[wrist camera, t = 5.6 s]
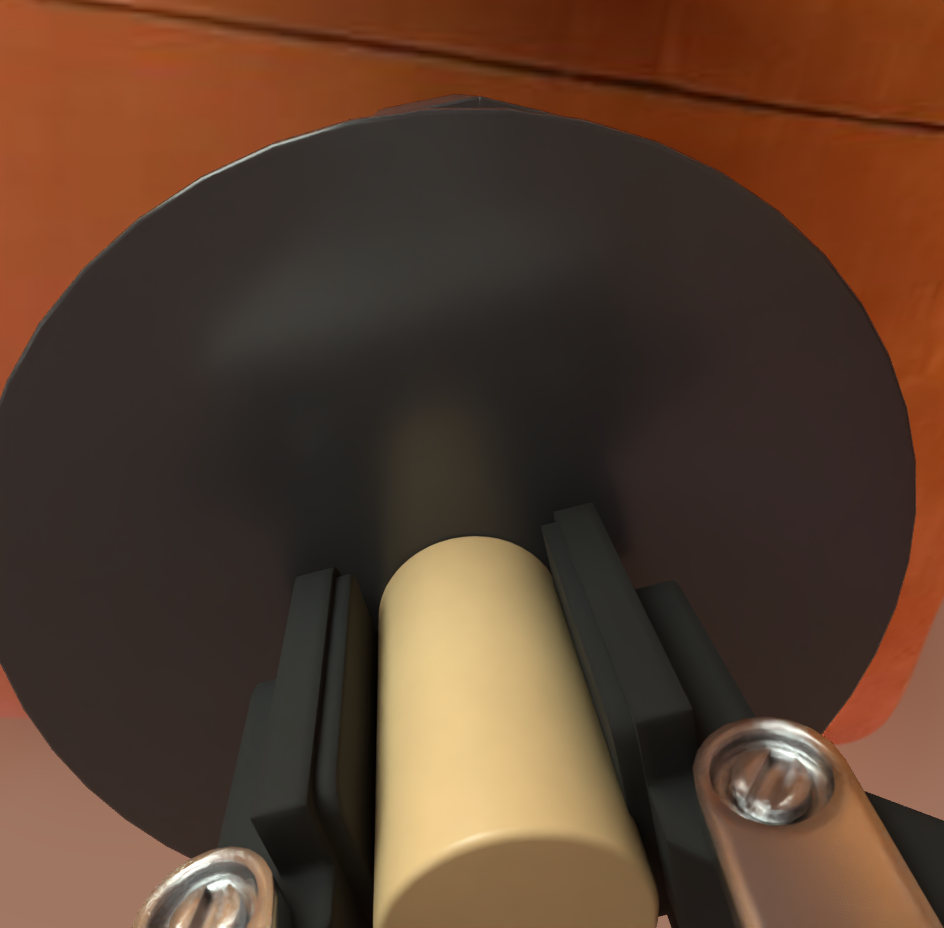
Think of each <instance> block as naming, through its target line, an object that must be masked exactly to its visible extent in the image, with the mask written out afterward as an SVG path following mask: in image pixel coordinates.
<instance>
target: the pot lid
mask: <svg viewBox="0 0 944 928" xmlns="http://www.w3.org/2000/svg"><path fill="white" fill-rule="evenodd" d="M587 503H593V505H594V506H595V508H596V510H597V513H598V515H599V517H600V519H601V521H602V523H603V525H604V527H605V529H606V531H607V533H608V535H609V537H610V539H611V541H612V543H613V546H614V548H615V550H616V552H617V554H618V556H619V558H620V560H621V562H622V564H623V566H624V568H625V570H626V572H627V574H628V576H629V579H630V581H631V583H632V585H633V587H634V589H638V588H642V587H646V586H650V585H654V584H658V583H662V582H666V581H670V580H674V581H676V582H677V583H678V584H679V586H680V587H681V589H682V590H683V592H684V594H685V596H686V597H687V599H688V601H689V603H690V604H691V606H692V608H693V609H694V611H695V613H696V615H697V616H698V618H699V620H700V622H701V623H702V625H703V627H704V628H705V630H706V632H707V634H708V635H709V637H710V639H711V641H712V642H713V644H714V646H715V648H716V649H717V651H718V653H719V654H720V656H721V658H722V660H723V661H724V663H725V665H726V667H727V668H728V670H729V672H730V673H731V675H732V677H733V679H734V680H735V682H736V684H737V686H738V687H739V689H740V691H741V693H742V694H743V696H744V698H745V699H746V701H747V703H748V705H749V706H750V708H751V710H752V712H753V713H754V715H755V717H773V718H779V719H786V720H791V721H794V722H796V723H799V724H801V725H804V726H807V727H809V728H812V729H813V730H815V731H816V732H818V733H819V734H821V735H822V734H823V732H824V731H825V730H826V728H827V727H828V726H829V724H830V723H831V722H832V720H833V719H834V718H835V716H836V715H837V714H838V713H839V711H840V710H841V709H842V707H843V706H844V705H845V703H846V702H847V701H848V699H849V698H850V697H851V695H852V694H853V692H854V690H855V689H856V687H857V685H858V684H859V682H860V680H861V678H862V677H863V675H864V673H865V672H866V670H867V668H868V667H869V665H870V663H871V662H872V660H873V658H874V656H875V655H876V653H877V650H878V648H879V646H880V644H881V641H882V639H883V637H884V634H885V632H886V630H887V628H888V625H889V623H890V621H891V618H892V616H893V614H894V611H895V609H896V606H897V602H898V599H899V595H900V592H901V588H902V585H903V581H904V578H905V574H906V571H907V567H908V564H909V559H910V552H911V545H912V538H913V531H914V523H915V516H916V459H915V453H914V447H913V441H912V435H911V429H910V423H909V417H908V411H907V406H906V403H905V400H904V397H903V394H902V392H901V389H900V386H899V383H898V380H897V377H896V374H895V371H894V368H893V365H892V362H891V359H890V356H889V353H888V351H887V349H886V348H885V346H884V344H883V342H882V340H881V338H880V336H879V334H878V332H877V331H876V329H875V327H874V325H873V323H872V321H871V319H870V317H869V315H868V314H867V312H866V310H865V308H864V306H863V304H862V302H861V301H860V300H859V298H858V297H857V296H856V295H855V293H854V292H853V291H852V289H851V288H850V287H849V285H848V284H847V283H846V281H845V280H844V279H843V277H842V276H841V275H840V273H839V272H838V271H837V270H836V268H835V267H834V266H833V264H832V263H831V262H830V260H829V259H828V258H827V256H826V255H825V254H824V253H823V252H822V251H821V250H820V249H819V248H818V247H817V246H816V245H814V244H813V243H812V242H811V241H810V240H809V239H808V238H807V237H806V236H805V235H804V234H803V233H802V232H801V231H800V230H799V229H798V228H797V227H795V226H794V225H793V224H792V223H791V222H790V221H789V220H788V219H787V218H786V217H785V216H784V215H783V214H782V213H781V212H780V211H779V210H777V209H776V208H774V207H773V206H771V205H770V204H768V203H767V202H765V201H764V200H762V199H761V198H760V197H758V196H757V195H755V194H754V193H752V192H751V191H749V190H748V189H746V188H745V187H743V186H742V185H740V184H739V183H738V182H736V181H735V180H733V179H732V178H730V177H729V176H727V175H726V174H724V173H723V172H721V171H719V170H717V169H715V168H713V167H711V166H708V165H706V164H704V163H702V162H700V161H698V160H696V159H694V158H692V157H689V156H687V155H685V154H683V153H681V152H679V151H677V150H675V149H673V148H670V147H668V146H666V145H664V144H662V143H660V142H658V141H655V140H651V139H648V138H645V137H641V136H638V135H635V134H631V133H628V132H625V131H621V130H618V129H615V128H611V127H608V126H605V125H601V124H598V123H595V122H591V121H588V120H584V119H578V118H572V117H565V116H558V115H551V114H544V113H537V112H530V111H523V110H516V109H509V108H423V109H417V110H410V111H403V112H396V113H389V114H382V115H376V116H369V117H362V118H355V119H350V120H346V121H343V122H340V123H336V124H333V125H330V126H326V127H323V128H319V129H316V130H313V131H309V132H306V133H303V134H299V135H296V136H293V137H289V138H286V139H283V140H279V141H276V142H274V143H272V144H270V145H268V146H266V147H263V148H261V149H259V150H257V151H255V152H253V153H250V154H248V155H246V156H244V157H242V158H240V159H238V160H235V161H233V162H231V163H229V164H227V165H225V166H223V167H220V168H218V169H216V170H214V171H212V172H210V173H208V174H206V175H204V176H202V177H200V178H198V179H197V180H195V181H194V182H192V183H191V184H189V185H188V186H186V187H185V188H183V189H182V190H180V191H179V192H177V193H176V194H174V195H173V196H171V197H170V198H168V199H167V200H165V201H164V202H162V203H161V204H159V205H158V206H156V207H155V208H153V209H152V210H150V211H148V212H147V213H145V214H144V215H142V216H141V217H139V218H138V219H137V220H136V221H134V222H133V223H132V224H131V225H130V226H129V227H128V228H127V229H126V230H125V231H123V232H122V233H121V234H120V235H119V236H118V237H117V238H116V239H115V240H114V241H112V242H111V243H110V244H109V245H108V246H107V247H106V248H105V249H104V250H103V251H101V252H100V253H99V254H98V255H97V256H96V257H95V258H94V259H93V260H92V261H90V262H89V263H88V264H87V265H86V266H85V267H84V268H83V269H82V270H81V271H80V273H79V274H78V275H77V276H76V278H75V279H74V280H73V281H72V283H71V284H70V285H69V286H68V288H67V289H66V290H65V291H64V293H63V294H62V295H61V296H60V298H59V299H58V300H57V301H56V303H55V304H54V305H53V306H52V308H51V309H50V310H49V311H48V313H47V314H46V315H45V316H44V318H43V319H42V320H41V321H40V323H39V324H38V326H37V328H36V330H35V331H34V333H33V335H32V337H31V338H30V340H29V342H28V344H27V346H26V347H25V349H24V351H23V353H22V354H21V356H20V358H19V360H18V362H17V363H16V365H15V367H14V369H13V370H12V372H11V374H10V376H9V378H8V379H7V381H6V384H5V387H4V390H3V393H2V395H1V398H0V664H1V666H2V668H3V670H4V672H5V674H6V676H7V678H8V680H9V682H10V684H11V686H12V688H13V690H14V691H15V693H16V695H17V697H18V699H19V701H20V703H21V705H22V707H23V709H24V711H25V712H26V713H27V715H28V716H29V718H30V719H31V720H32V722H33V723H34V725H35V726H36V727H37V729H38V730H39V732H40V733H41V735H42V736H43V737H44V739H45V740H46V742H47V743H48V744H49V746H50V747H51V749H52V750H53V751H54V752H55V753H56V755H57V756H58V757H59V758H60V759H61V760H62V761H63V762H64V763H65V764H66V765H67V766H68V767H69V769H70V770H71V771H72V772H73V773H74V774H75V775H76V776H77V777H78V778H79V779H80V780H81V781H82V783H83V784H84V785H85V786H86V787H87V788H88V789H90V790H91V791H92V792H93V793H94V794H96V795H97V796H98V797H99V798H100V799H102V800H103V801H104V802H105V803H106V804H108V805H109V806H110V807H111V808H112V809H114V810H115V811H116V812H117V813H118V814H120V815H121V816H122V817H123V818H124V819H126V820H127V821H129V822H130V823H132V824H133V825H135V826H136V827H138V828H140V829H141V830H142V831H144V832H145V833H147V834H148V835H150V836H152V837H153V838H155V839H156V840H158V841H159V842H161V843H162V844H164V845H165V846H167V847H169V848H171V849H173V850H175V851H177V852H179V853H181V854H183V855H185V856H187V857H189V858H194V857H196V856H198V855H201V854H203V853H205V852H208V851H210V850H213V849H217V848H218V843H219V839H220V834H221V830H222V825H223V821H224V816H225V812H226V807H227V803H228V798H229V794H230V789H231V785H232V780H233V776H234V772H235V767H236V763H237V758H238V754H239V749H240V745H241V740H242V736H243V731H244V727H245V722H246V718H247V713H248V709H249V704H250V700H251V696H252V693H253V690H254V688H255V686H257V685H258V684H259V683H262V682H266V681H270V680H274V679H276V678H277V672H278V667H279V662H280V656H281V651H282V646H283V640H284V635H285V630H286V625H287V619H288V614H289V609H290V603H291V598H292V593H293V587H294V582H295V579H296V577H298V576H302V575H306V574H310V573H314V572H317V571H321V570H325V569H329V568H333V567H336V568H338V570H339V571H340V573H341V575H342V576H344V575H348V574H352V573H353V574H354V575H355V577H356V579H357V581H358V584H359V587H360V589H361V592H362V595H363V598H364V600H365V603H366V606H367V609H368V611H369V614H370V617H371V620H372V622H373V625H374V628H375V631H376V633H377V636H378V681H377V736H376V791H375V847H374V902H373V928H656V927H657V921H658V915H659V892H658V888H657V884H656V881H655V878H654V875H653V872H652V869H651V866H650V863H649V860H648V857H647V854H646V851H645V848H644V845H643V842H642V839H641V836H640V833H639V830H638V828H637V825H636V823H635V821H634V819H633V818H632V816H631V815H630V813H629V811H628V808H627V805H626V802H625V799H624V796H623V793H622V790H621V787H620V784H619V781H618V778H617V774H616V771H615V768H614V765H613V762H612V759H611V756H610V753H609V750H608V747H607V744H606V741H605V738H604V735H603V732H602V729H601V726H600V723H599V720H598V717H597V714H596V711H595V708H594V705H593V701H592V698H591V695H590V692H589V689H588V686H587V683H586V680H585V677H584V674H583V671H582V668H581V665H580V662H579V659H578V656H577V653H576V650H575V647H574V644H573V641H572V638H571V635H570V632H569V628H568V625H567V622H566V619H565V616H564V613H563V610H562V607H561V604H560V601H559V598H558V595H557V592H556V589H555V586H554V582H553V577H552V573H551V568H550V564H549V559H548V555H547V551H546V546H545V542H544V537H543V533H542V527H541V526H542V525H546V524H550V523H554V522H555V520H554V512H555V511H559V510H563V509H567V508H571V507H575V506H579V505H583V504H587Z"/></svg>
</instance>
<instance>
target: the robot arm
mask: <svg viewBox="0 0 944 928" xmlns="http://www.w3.org/2000/svg"><path fill="white" fill-rule="evenodd" d="M554 520H555V522H554V523H550V524H546V525H542V526H541V527H542V533H543V537H544V542H545V546H546V551H547V555H548V559H549V564H550V568H551V573H552V577H553V582H554V586H555V589H556V592H557V595H558V598H559V601H560V604H561V607H562V610H563V613H564V616H565V619H566V622H567V625H568V628H569V632H570V635H571V638H572V641H573V644H574V647H575V650H576V653H577V656H578V659H579V662H580V665H581V668H582V671H583V674H584V677H585V680H586V683H587V686H588V689H589V692H590V695H591V698H592V701H593V705H594V708H595V711H596V714H597V717H598V720H599V723H600V726H601V729H602V732H603V735H604V738H605V741H606V744H607V747H608V750H609V753H610V756H611V759H612V762H613V765H614V768H615V771H616V774H617V778H618V781H619V784H620V787H621V790H622V793H623V796H624V799H625V802H626V805H627V808H628V811H629V813H630V815H631V816H632V818H633V819H634V821H635V823H636V825H637V828H638V830H639V833H640V836H641V839H642V842H643V845H644V848H645V851H646V854H647V857H648V860H649V863H650V866H651V869H652V872H653V875H654V878H655V881H656V884H657V888H658V892H659V915H658V917H659V916H663V915H667V916H668V919H669V922H670V924H671V928H944V821H943V820H940V819H938V818H935V817H932V816H930V815H927V814H924V813H922V812H919V811H916V810H914V809H911V808H908V807H905V806H903V805H900V804H897V803H895V802H892V801H890V800H887V799H884V798H881V797H879V796H876V795H873V794H871V793H868V792H865V791H864V790H863V788H862V787H861V785H860V783H859V782H858V780H857V778H856V776H855V775H854V773H853V771H852V769H851V768H850V766H849V764H848V763H847V761H846V759H845V758H844V757H843V755H842V754H841V753H840V752H839V751H838V749H837V748H836V747H835V746H834V744H833V743H832V742H831V741H829V740H828V739H826V738H825V737H823V736H822V735H821V734H819V733H818V732H816V731H815V730H813V729H812V728H809V727H807V726H804V725H801V724H799V723H796V722H794V721H791V720H786V719H779V718H773V717H755V715H754V713H753V712H752V710H751V708H750V706H749V705H748V703H747V701H746V699H745V698H744V696H743V694H742V693H741V691H740V689H739V687H738V686H737V684H736V682H735V680H734V679H733V677H732V675H731V673H730V672H729V670H728V668H727V667H726V665H725V663H724V661H723V660H722V658H721V656H720V654H719V653H718V651H717V649H716V648H715V646H714V644H713V642H712V641H711V639H710V637H709V635H708V634H707V632H706V630H705V628H704V627H703V625H702V623H701V622H700V620H699V618H698V616H697V615H696V613H695V611H694V609H693V608H692V606H691V604H690V603H689V601H688V599H687V597H686V596H685V594H684V592H683V590H682V589H681V587H680V586H679V584H678V583H677V582H676V581H674V580H670V581H666V582H662V583H658V584H654V585H650V586H646V587H642V588H638V589H634V587H633V585H632V583H631V581H630V579H629V576H628V574H627V572H626V570H625V568H624V566H623V564H622V562H621V560H620V558H619V556H618V554H617V552H616V550H615V548H614V546H613V543H612V541H611V539H610V537H609V535H608V533H607V531H606V529H605V527H604V525H603V523H602V521H601V519H600V517H599V515H598V513H597V510H596V508H595V506H594V505H593V503H587V504H583V505H579V506H575V507H571V508H567V509H563V510H559V511H555V512H554ZM377 681H378V636H377V633H376V631H375V628H374V625H373V622H372V620H371V617H370V614H369V611H368V609H367V606H366V603H365V600H364V598H363V595H362V592H361V589H360V587H359V584H358V581H357V579H356V577H355V575H354V574H353V573H352V574H348V575H344V576H342V575H341V573H340V571H339V570H338V568H336V567H333V568H329V569H325V570H321V571H317V572H314V573H310V574H306V575H302V576H298V577H296V579H295V582H294V587H293V593H292V598H291V603H290V609H289V614H288V619H287V625H286V630H285V635H284V640H283V646H282V651H281V656H280V662H279V667H278V672H277V678H276V679H274V680H270V681H266V682H262V683H259V684H258V685H257V686H255V688H254V690H253V693H252V696H251V700H250V704H249V709H248V713H247V718H246V722H245V727H244V731H243V736H242V740H241V745H240V749H239V754H238V758H237V763H236V767H235V772H234V776H233V780H232V785H231V789H230V794H229V798H228V803H227V807H226V812H225V816H224V821H223V825H222V830H221V834H220V839H219V843H218V848H217V849H213V850H210V851H208V852H205V853H203V854H201V855H198V856H196V857H194V858H191V859H190V860H188V861H187V862H185V863H184V864H183V865H181V866H180V867H178V868H177V869H175V870H174V871H172V872H171V873H170V874H169V875H168V876H167V877H166V878H165V879H164V880H163V881H162V882H161V883H160V884H159V885H158V886H157V887H156V888H155V889H154V890H153V891H152V893H151V894H150V895H149V897H148V898H147V900H146V901H145V903H144V904H143V906H142V907H141V909H140V910H139V912H138V913H137V916H136V919H135V921H134V924H133V926H132V928H373V902H374V847H375V791H376V736H377Z"/></svg>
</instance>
